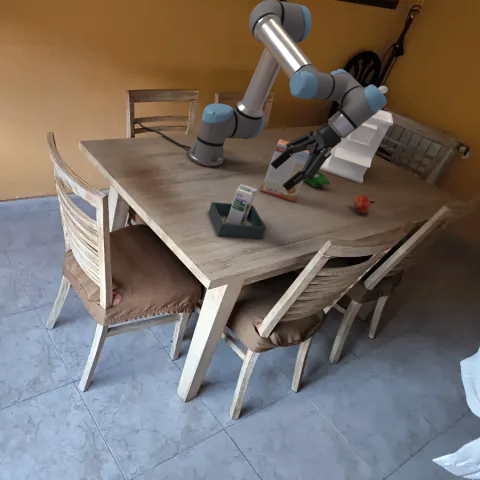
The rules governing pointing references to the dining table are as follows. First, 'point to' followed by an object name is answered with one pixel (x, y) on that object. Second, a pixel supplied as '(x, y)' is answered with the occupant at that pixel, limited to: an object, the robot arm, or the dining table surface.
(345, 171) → the white toy machine
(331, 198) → the dining table surface
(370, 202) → the pomegranate
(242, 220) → the syrup box
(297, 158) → the cracker box
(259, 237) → the bin
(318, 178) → the snack package
